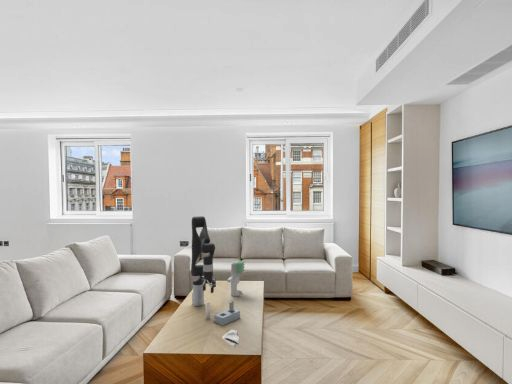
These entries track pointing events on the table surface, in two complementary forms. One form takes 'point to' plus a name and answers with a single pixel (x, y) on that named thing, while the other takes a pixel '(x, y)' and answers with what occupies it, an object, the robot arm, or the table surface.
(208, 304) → the cream peg
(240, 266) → the toy
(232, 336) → the cloth
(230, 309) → the grey peg
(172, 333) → the table surface
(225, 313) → the hole block
